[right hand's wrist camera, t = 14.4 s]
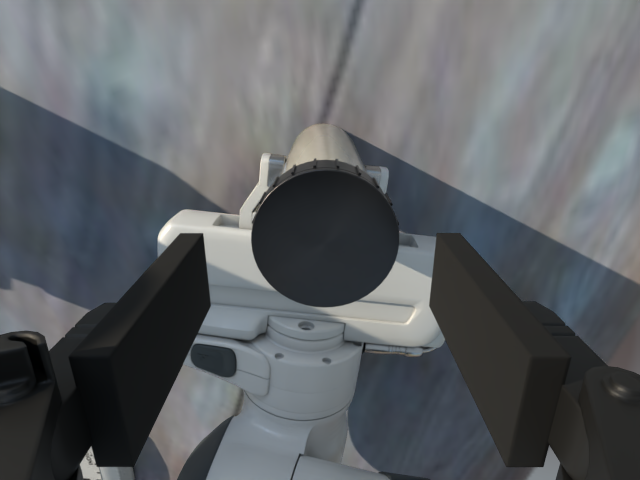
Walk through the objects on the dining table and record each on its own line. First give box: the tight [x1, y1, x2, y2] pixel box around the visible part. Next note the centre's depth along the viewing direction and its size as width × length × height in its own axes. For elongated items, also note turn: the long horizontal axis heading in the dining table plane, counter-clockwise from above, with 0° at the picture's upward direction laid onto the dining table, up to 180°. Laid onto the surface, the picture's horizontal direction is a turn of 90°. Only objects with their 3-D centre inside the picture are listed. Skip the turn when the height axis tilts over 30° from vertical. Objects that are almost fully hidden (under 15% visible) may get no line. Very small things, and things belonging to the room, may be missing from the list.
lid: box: [251, 158, 399, 308], centre depth 17 cm, size 6×6×2 cm
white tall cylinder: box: [280, 124, 368, 176], centre depth 24 cm, size 5×5×17 cm
